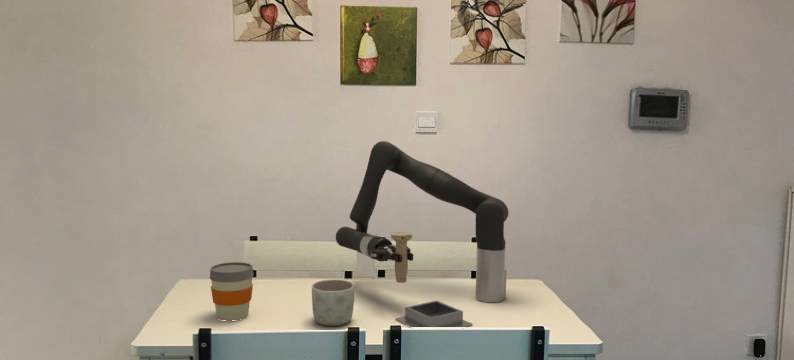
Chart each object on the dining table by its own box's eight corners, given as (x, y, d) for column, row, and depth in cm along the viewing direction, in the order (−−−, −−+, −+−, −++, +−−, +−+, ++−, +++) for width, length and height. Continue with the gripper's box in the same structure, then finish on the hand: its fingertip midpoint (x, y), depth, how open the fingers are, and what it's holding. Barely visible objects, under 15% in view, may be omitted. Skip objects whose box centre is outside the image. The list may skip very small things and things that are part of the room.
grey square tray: (437, 310, 183) (438, 297, 182) (472, 325, 170) (472, 312, 169) (395, 320, 174) (395, 306, 173) (428, 337, 160) (428, 322, 160)
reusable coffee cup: (231, 326, 166) (230, 275, 165) (201, 318, 173) (200, 268, 171) (263, 314, 177) (262, 265, 175) (234, 306, 184) (233, 260, 182)
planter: (318, 331, 164) (318, 293, 162) (306, 317, 175) (306, 281, 174) (360, 325, 169) (360, 288, 167) (346, 312, 180) (346, 277, 179)
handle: (412, 283, 179) (413, 235, 177) (391, 284, 178) (392, 235, 176) (410, 279, 184) (410, 232, 182) (389, 279, 183) (390, 232, 181)
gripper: (357, 238, 187) (387, 249, 173) (394, 233, 195) (425, 243, 181) (357, 261, 188) (387, 273, 174) (393, 255, 196) (425, 267, 182)
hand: (406, 258), depth 178 cm, fingers closed on handle, 3 cm apart
